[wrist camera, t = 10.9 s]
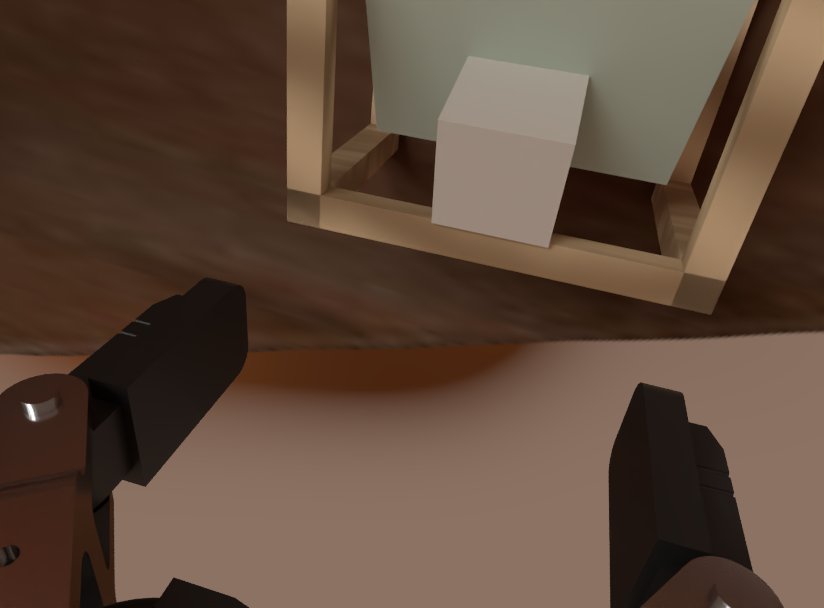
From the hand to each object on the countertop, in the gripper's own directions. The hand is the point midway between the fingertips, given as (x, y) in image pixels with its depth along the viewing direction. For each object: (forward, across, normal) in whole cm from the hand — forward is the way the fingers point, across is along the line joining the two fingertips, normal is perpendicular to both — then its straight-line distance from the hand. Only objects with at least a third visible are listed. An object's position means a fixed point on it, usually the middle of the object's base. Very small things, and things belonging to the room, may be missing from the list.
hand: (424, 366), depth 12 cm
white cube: (+18, 0, 0) cm, 18 cm away
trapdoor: (+18, 0, -4) cm, 18 cm away
